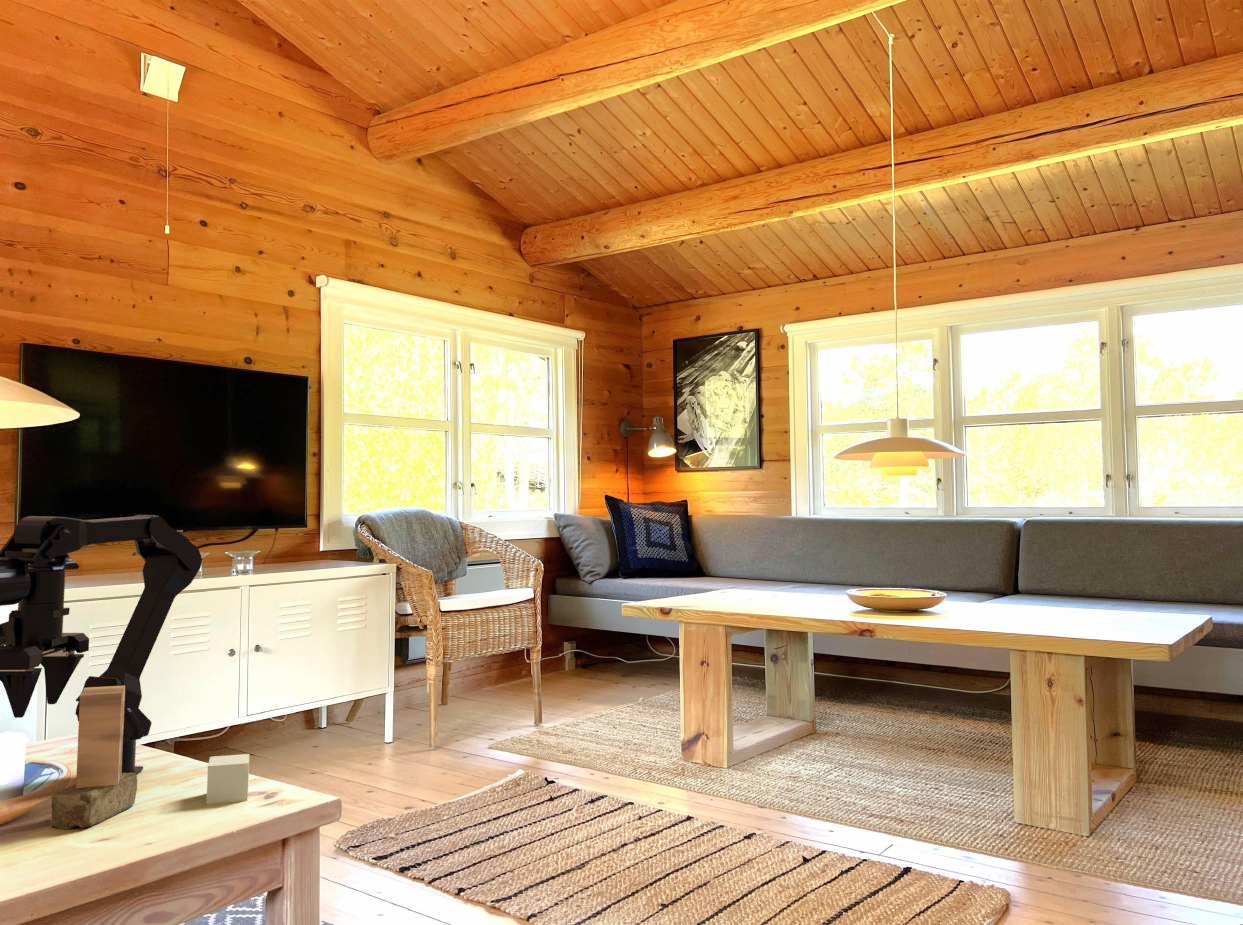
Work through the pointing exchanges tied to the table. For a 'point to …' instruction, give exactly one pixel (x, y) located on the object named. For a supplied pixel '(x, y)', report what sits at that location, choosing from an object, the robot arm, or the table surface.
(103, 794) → the stone block
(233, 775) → the sage cube
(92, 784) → the oak pillar
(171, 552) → the robot arm
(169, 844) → the table surface
